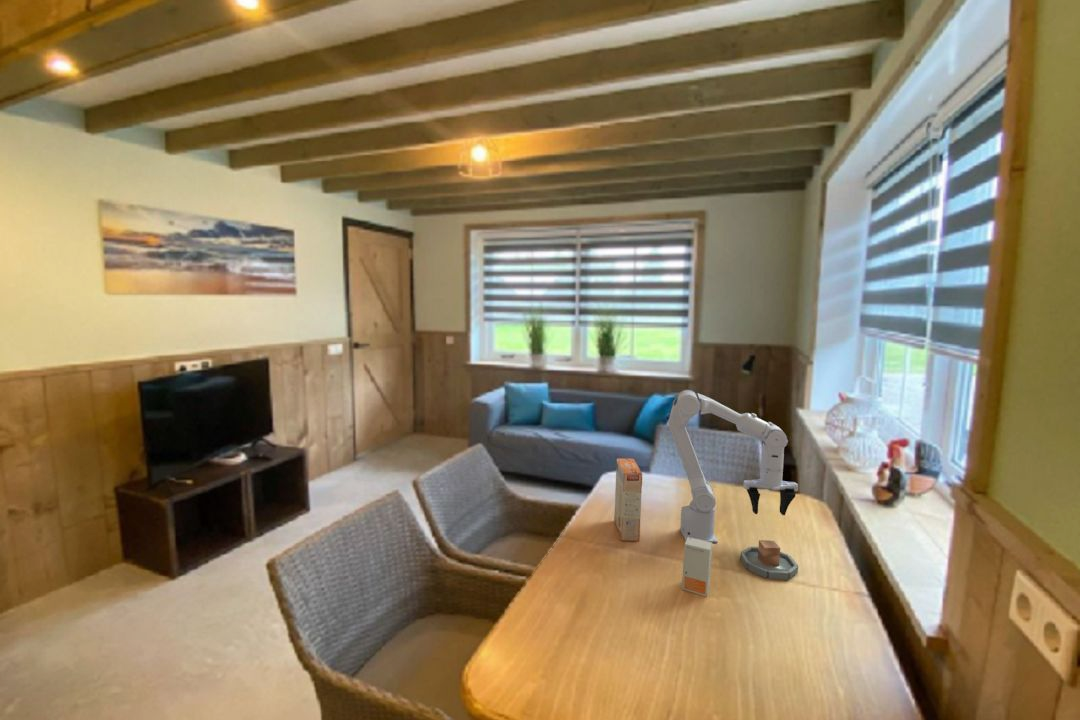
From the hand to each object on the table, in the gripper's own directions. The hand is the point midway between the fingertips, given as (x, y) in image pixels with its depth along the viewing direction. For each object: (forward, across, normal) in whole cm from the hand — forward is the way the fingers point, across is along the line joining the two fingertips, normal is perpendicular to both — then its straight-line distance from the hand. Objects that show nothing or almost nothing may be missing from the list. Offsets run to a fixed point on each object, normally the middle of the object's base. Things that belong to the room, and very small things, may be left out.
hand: (768, 513), depth 138 cm
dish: (+9, -4, -12) cm, 16 cm away
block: (+8, -4, -12) cm, 15 cm away
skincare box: (+10, -26, -25) cm, 37 cm away
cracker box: (+10, -40, +4) cm, 41 cm away
